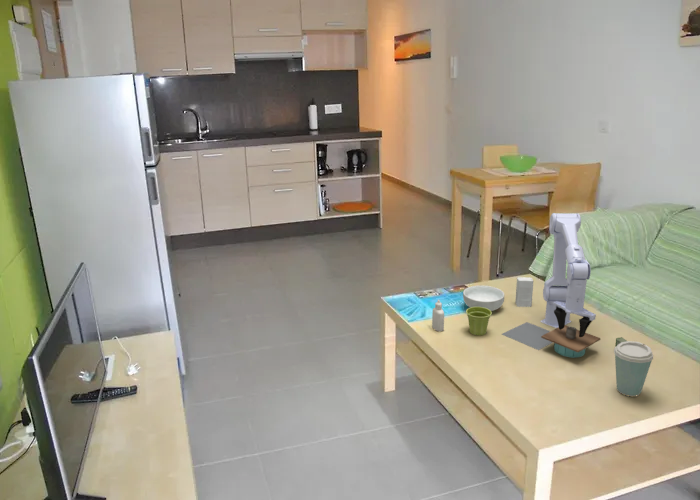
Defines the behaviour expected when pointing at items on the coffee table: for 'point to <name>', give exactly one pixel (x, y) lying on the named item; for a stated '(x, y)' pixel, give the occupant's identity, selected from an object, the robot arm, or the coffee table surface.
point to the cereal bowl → (483, 297)
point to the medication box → (619, 341)
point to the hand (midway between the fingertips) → (571, 332)
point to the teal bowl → (568, 351)
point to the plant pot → (478, 320)
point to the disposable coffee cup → (632, 366)
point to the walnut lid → (570, 338)
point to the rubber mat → (529, 335)
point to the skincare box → (524, 291)
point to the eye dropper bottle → (438, 317)
